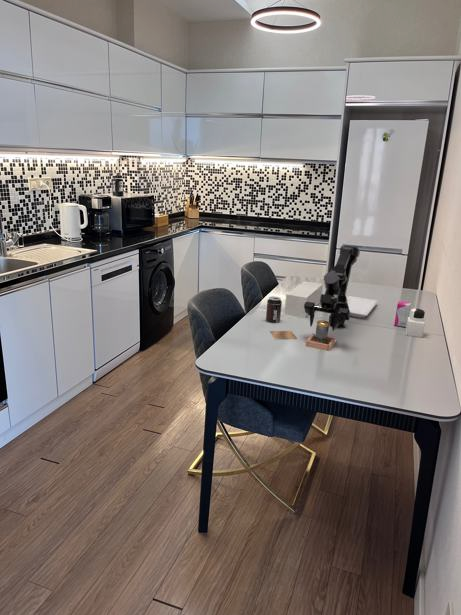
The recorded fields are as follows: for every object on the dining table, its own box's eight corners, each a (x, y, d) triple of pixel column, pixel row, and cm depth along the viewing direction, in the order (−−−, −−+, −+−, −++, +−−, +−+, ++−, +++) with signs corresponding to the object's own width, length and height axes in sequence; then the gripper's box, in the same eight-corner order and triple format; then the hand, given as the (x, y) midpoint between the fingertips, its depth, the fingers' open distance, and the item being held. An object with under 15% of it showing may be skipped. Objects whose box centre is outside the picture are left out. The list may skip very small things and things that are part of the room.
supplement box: (407, 324, 226) (411, 302, 223) (406, 328, 221) (410, 305, 217) (395, 322, 228) (398, 300, 225) (393, 326, 223) (397, 303, 220)
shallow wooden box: (311, 340, 199) (312, 333, 198) (334, 344, 195) (335, 338, 194) (305, 347, 190) (306, 340, 190) (329, 352, 187) (330, 345, 186)
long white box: (304, 318, 228) (306, 297, 224) (284, 314, 232) (286, 294, 228) (320, 302, 256) (322, 284, 252) (301, 299, 260) (303, 281, 256)
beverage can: (279, 325, 215) (281, 300, 211) (264, 323, 216) (266, 299, 213) (280, 320, 221) (282, 296, 218) (266, 319, 223) (268, 295, 219)
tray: (333, 315, 235) (333, 308, 234) (346, 300, 262) (347, 295, 261) (366, 321, 228) (367, 315, 227) (377, 306, 255) (378, 300, 254)
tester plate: (291, 332, 207) (291, 330, 206) (297, 340, 197) (297, 339, 197) (269, 332, 205) (269, 331, 205) (275, 341, 195) (275, 339, 195)
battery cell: (319, 341, 196) (322, 319, 193) (328, 345, 192) (331, 323, 189) (311, 344, 193) (314, 321, 190) (321, 347, 189) (324, 325, 186)
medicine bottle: (421, 333, 215) (426, 308, 212) (422, 338, 209) (426, 313, 205) (405, 330, 218) (409, 306, 214) (405, 335, 211) (410, 310, 208)
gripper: (307, 282, 192) (297, 314, 186) (352, 289, 185) (343, 323, 179) (310, 296, 202) (300, 327, 195) (353, 303, 194) (344, 336, 188)
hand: (321, 328), depth 189 cm, fingers open, 9 cm apart
